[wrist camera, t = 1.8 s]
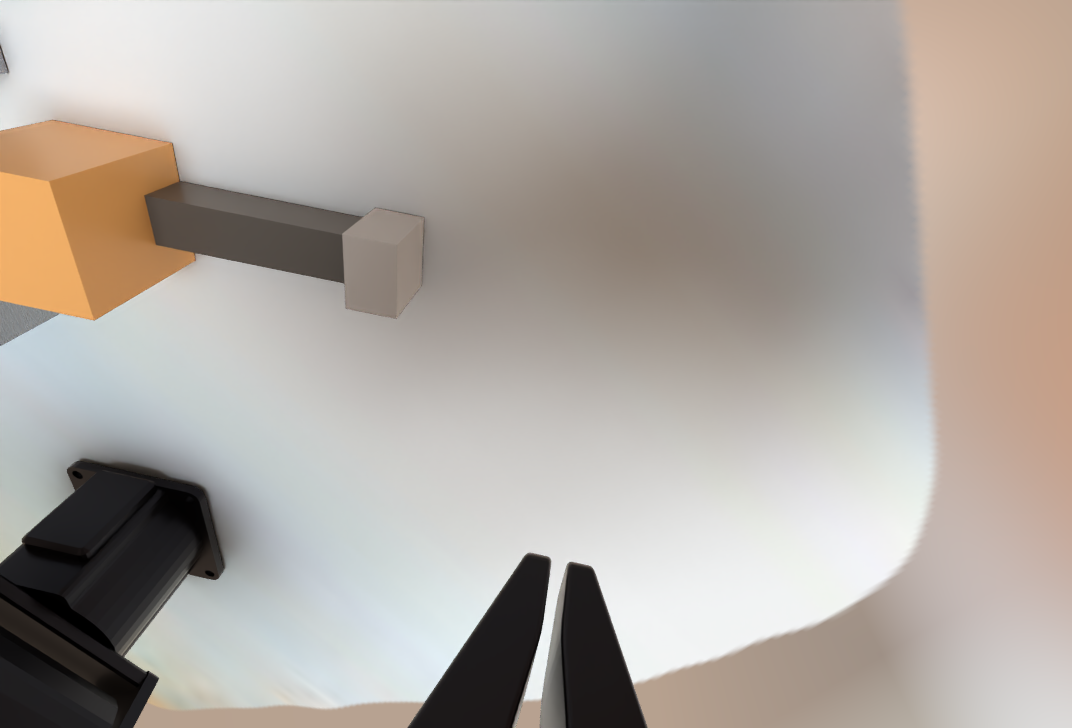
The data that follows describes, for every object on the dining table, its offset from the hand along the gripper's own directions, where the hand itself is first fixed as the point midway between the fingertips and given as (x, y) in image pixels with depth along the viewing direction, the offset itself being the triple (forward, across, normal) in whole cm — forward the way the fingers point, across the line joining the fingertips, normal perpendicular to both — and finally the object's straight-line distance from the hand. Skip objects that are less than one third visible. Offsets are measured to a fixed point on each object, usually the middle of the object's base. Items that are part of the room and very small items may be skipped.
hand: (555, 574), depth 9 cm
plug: (+11, +12, 0) cm, 16 cm away
